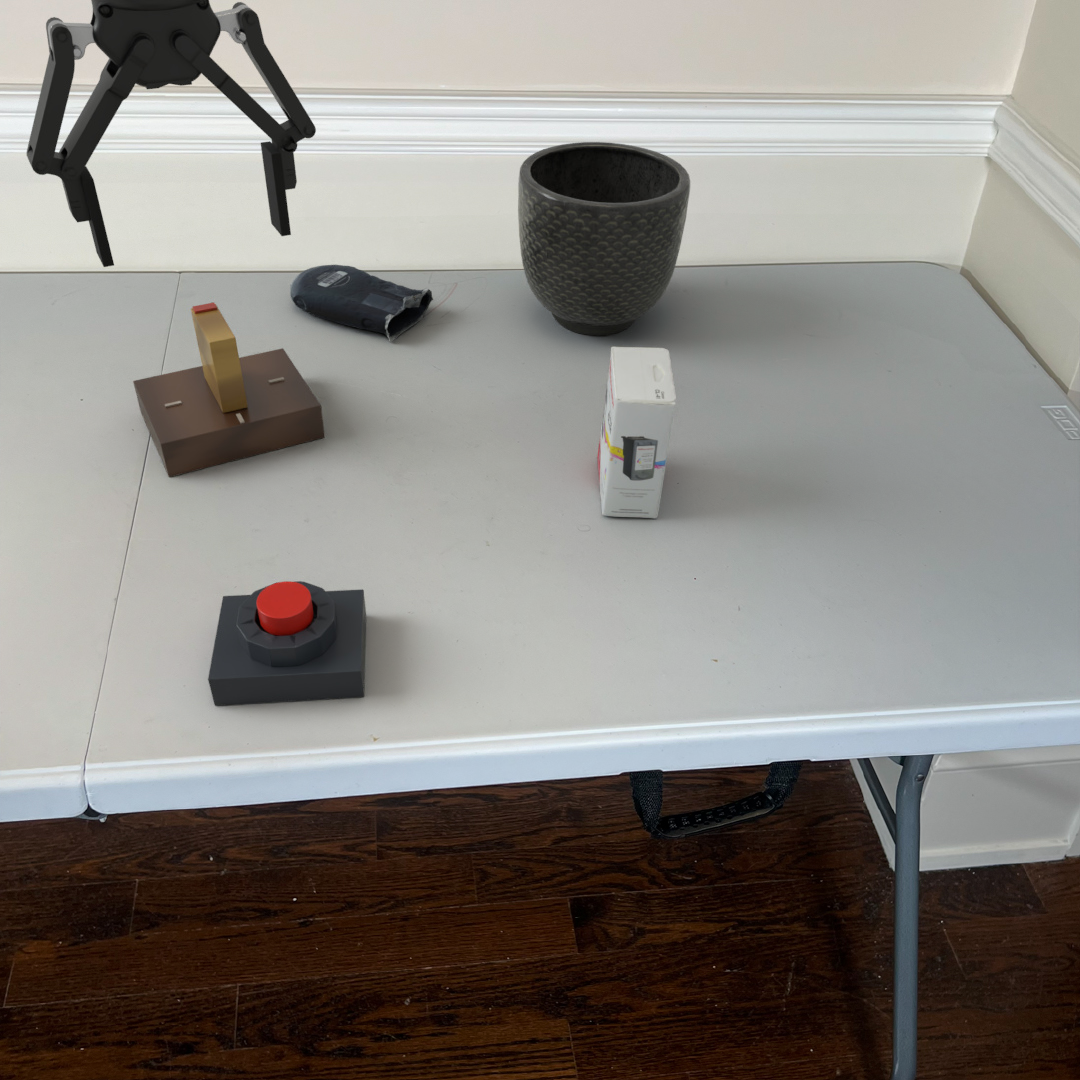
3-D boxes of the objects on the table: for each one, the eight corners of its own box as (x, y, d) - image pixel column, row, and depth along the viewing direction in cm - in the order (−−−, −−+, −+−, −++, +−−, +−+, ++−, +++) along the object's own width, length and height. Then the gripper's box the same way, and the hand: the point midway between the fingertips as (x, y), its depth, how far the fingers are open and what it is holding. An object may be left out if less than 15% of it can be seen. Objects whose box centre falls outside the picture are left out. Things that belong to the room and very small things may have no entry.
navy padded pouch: (437, 319, 114) (326, 269, 118) (437, 278, 110) (323, 227, 113) (388, 365, 109) (274, 311, 112) (387, 324, 104) (268, 269, 108)
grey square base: (214, 706, 70) (202, 660, 67) (228, 622, 76) (218, 577, 73) (364, 697, 71) (358, 652, 68) (366, 615, 77) (361, 570, 74)
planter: (531, 362, 105) (537, 210, 95) (502, 284, 118) (505, 143, 108) (692, 350, 108) (715, 202, 98) (647, 276, 121) (663, 138, 111)
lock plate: (168, 477, 89) (160, 442, 86) (141, 413, 96) (132, 379, 94) (325, 437, 94) (321, 403, 92) (287, 379, 101) (282, 346, 99)
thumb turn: (248, 407, 91) (235, 334, 86) (223, 413, 90) (208, 340, 85) (228, 372, 95) (215, 300, 90) (204, 377, 94) (189, 305, 90)
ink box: (596, 458, 93) (607, 342, 85) (652, 460, 93) (667, 344, 85) (600, 519, 86) (612, 400, 79) (660, 521, 86) (678, 402, 79)
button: (257, 637, 69) (253, 619, 68) (262, 600, 72) (259, 582, 71) (312, 635, 69) (309, 616, 68) (315, 598, 72) (312, 579, 71)
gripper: (305, -87, 74) (332, 201, 88) (-81, -69, 64) (17, 252, 78) (342, -67, 69) (364, 235, 83) (-70, -44, 59) (32, 294, 73)
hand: (196, 244), depth 80 cm, fingers open, 13 cm apart
